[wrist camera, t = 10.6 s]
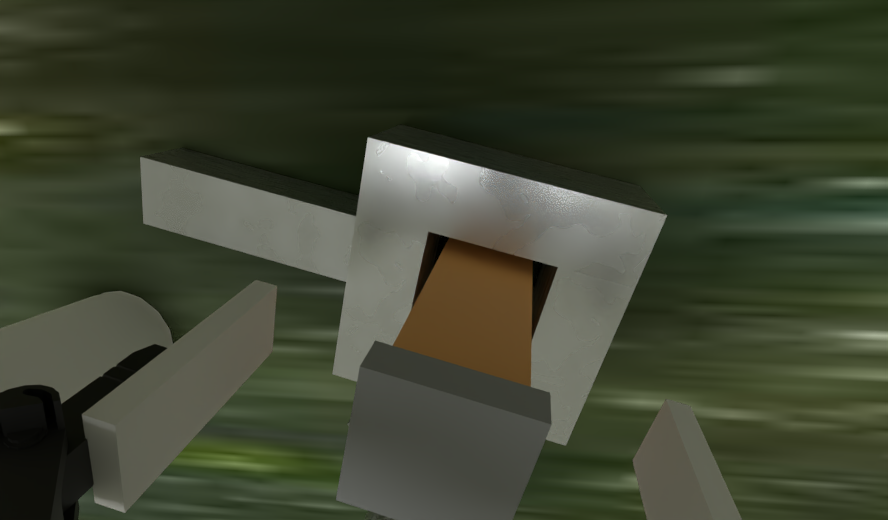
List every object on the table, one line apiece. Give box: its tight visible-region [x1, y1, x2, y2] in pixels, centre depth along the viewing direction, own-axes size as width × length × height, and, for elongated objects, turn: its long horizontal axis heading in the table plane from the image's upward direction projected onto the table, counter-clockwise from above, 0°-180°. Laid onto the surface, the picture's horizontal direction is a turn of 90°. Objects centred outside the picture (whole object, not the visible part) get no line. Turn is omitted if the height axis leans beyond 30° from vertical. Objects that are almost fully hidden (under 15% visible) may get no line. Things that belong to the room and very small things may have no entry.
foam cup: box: [0, 291, 173, 404], centre depth 26 cm, size 10×9×13 cm
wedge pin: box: [336, 237, 552, 520], centre depth 19 cm, size 5×5×14 cm
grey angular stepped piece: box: [140, 125, 667, 520], centre depth 19 cm, size 20×24×18 cm
